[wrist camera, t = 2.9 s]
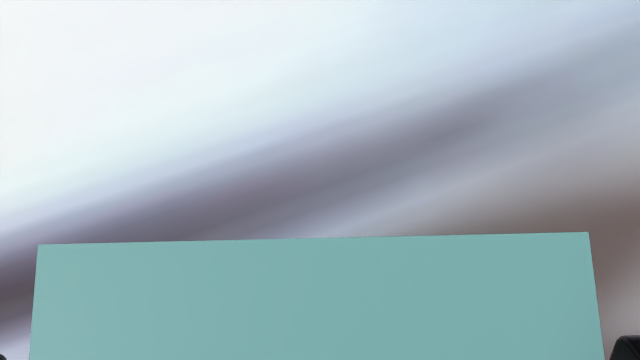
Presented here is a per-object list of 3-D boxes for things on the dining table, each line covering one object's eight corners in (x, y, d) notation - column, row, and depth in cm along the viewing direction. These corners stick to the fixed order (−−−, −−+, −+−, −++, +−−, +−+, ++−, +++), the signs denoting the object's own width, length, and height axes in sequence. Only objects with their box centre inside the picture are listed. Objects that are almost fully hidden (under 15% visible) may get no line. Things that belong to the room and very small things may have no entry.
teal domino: (403, 366, 17) (619, 474, 5) (223, 371, 17) (18, 493, 5) (399, 289, 17) (587, 226, 6) (223, 294, 17) (38, 238, 5)
